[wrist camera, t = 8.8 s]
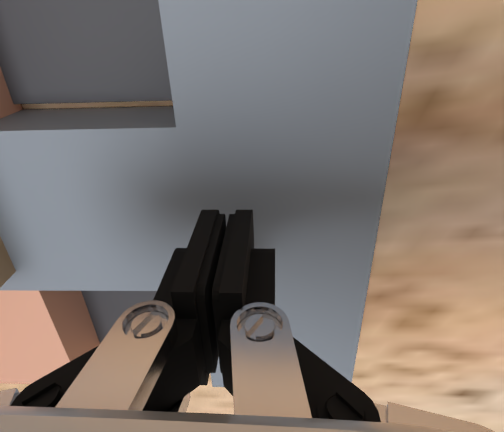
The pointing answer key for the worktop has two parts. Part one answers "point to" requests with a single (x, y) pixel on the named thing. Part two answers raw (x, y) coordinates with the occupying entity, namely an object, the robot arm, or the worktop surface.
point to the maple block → (5, 264)
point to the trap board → (191, 157)
